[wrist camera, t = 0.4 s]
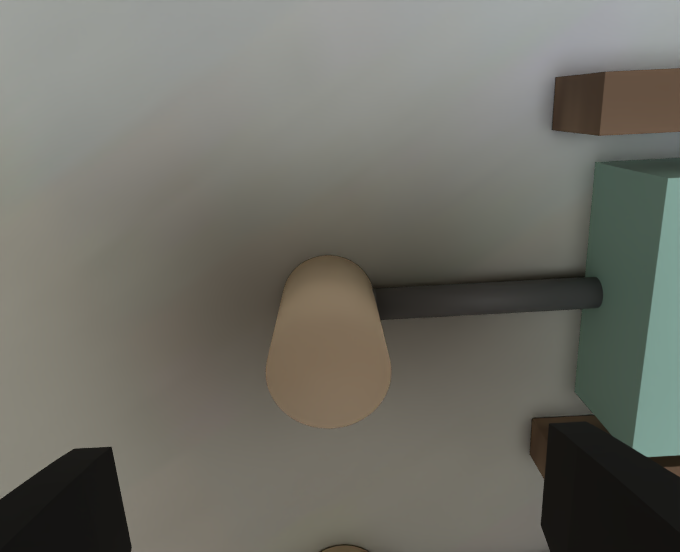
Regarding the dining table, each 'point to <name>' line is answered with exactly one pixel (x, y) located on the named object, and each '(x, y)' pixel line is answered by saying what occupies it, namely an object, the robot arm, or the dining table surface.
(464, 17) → the dining table surface
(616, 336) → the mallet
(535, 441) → the tray
